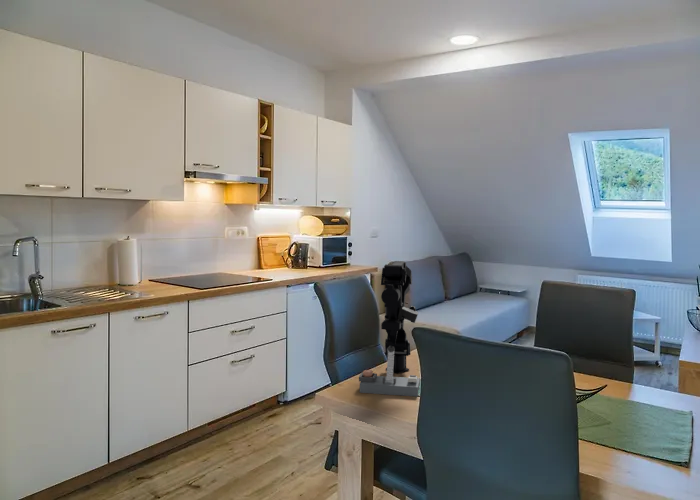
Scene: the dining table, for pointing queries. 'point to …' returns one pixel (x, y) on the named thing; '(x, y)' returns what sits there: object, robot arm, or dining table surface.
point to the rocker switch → (412, 378)
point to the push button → (367, 373)
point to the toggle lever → (390, 363)
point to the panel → (388, 385)
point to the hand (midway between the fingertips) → (393, 344)
